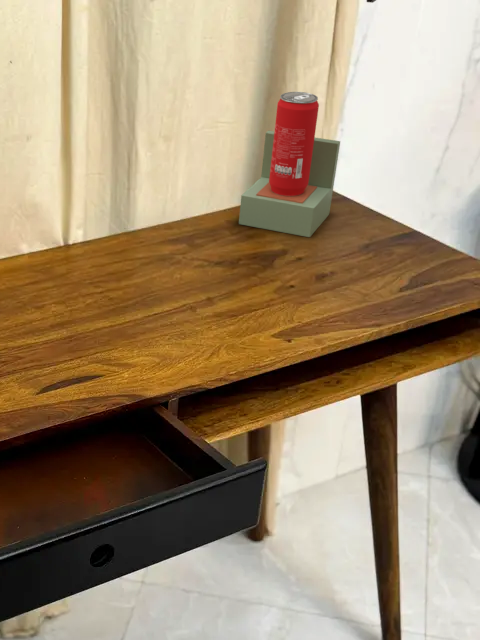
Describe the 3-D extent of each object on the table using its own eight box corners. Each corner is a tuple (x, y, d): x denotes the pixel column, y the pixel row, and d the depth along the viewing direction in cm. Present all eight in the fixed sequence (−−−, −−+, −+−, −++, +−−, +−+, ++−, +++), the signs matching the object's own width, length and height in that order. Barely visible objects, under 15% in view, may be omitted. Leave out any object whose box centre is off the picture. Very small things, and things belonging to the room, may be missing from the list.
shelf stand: (329, 214, 136) (340, 141, 130) (309, 237, 130) (320, 161, 124) (260, 202, 140) (268, 130, 134) (238, 224, 134) (245, 149, 128)
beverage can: (260, 189, 132) (269, 95, 125) (286, 180, 135) (297, 88, 127) (288, 200, 129) (300, 105, 122) (315, 191, 132) (328, 97, 124)
